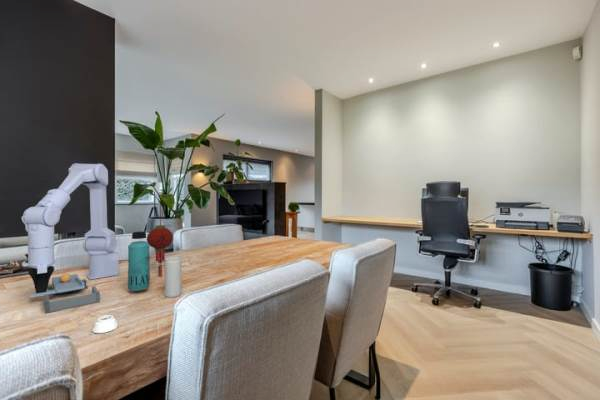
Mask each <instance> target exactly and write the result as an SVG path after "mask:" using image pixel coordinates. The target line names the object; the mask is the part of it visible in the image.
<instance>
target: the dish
mask: <svg viewBox="0 0 600 400" xmlns="http://www.w3.org/2000/svg"><path fill="white" fill-rule="evenodd" d="M43 296H44V297H43V298H44V299H43V300H44V301H43V302H44V312H45V313H44V314H49V313H55V312H60V311H63V310H69V309H73V308H79V307H83V306H87V305H93V304H97V303H98V304H99V303H100V302H101V299H100V298H101V293H100V291H99V290H98V288H97V287H96V286H95V285H93V286H91V293H89V294H83V295H78V296H72V297H67V298H62V299H55V300H51V301H50V297H49V296H48V294H46V295H43Z"/></svg>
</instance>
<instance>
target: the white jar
mask: <svg viewBox="0 0 600 400" xmlns="http://www.w3.org/2000/svg"><path fill="white" fill-rule="evenodd" d="M118 327H119V323H118V321H117V320H116V318H115V317H114V315H112V314H106V315H102V316H99V317H98V318H97V320H96V321H95V324H94V325H93V327H92V329H91V330H92V333H93V334H105V333H110V332H112V331H113V330H116V329H117V328H118Z"/></svg>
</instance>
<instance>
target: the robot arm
mask: <svg viewBox="0 0 600 400" xmlns="http://www.w3.org/2000/svg"><path fill="white" fill-rule="evenodd" d="M80 185H84V186H86V187H87V188H88V189H89V204H90V205H89V209H90V210H89V212H90V230H88V231H87V232H86V233H84V238H83V239H84V240H83V242H82V248H83V250H84V251H85V253H86V255H88V273H86V277H87V278H88V280H95V279H102V278H108V277H113V276H119V275H120V273H119V272H120V271H119V263H120V262H119V254H118V252H117V251H115V250H116V249H117V246H118V240H117V238H116V232H115V231H113V230H111V229H110V228H109V227H108V203H107V186H108V185H109V171H108V169H107V167H106V166H105V165H104V163H78V162H76V163H73V164H72V165H71V166H70V167H69V168H68V175H67V176H66V178H65V179H64V180H63V181H62V183H61V184H60V185H59V187H58V188H53V189H49V190H48V191H47V193H46V194H45V195H44V196H43V197H42V199H41V200H39V202H38V203H37V204H36V205H35V206H30V207H28V208H27V209H25V210H24V212H23V215H22V216H21V221H22V223H23V225H25V231H26V232H27V262H23V263H22V265H21V266H22V267H23V268H25V267H28V268H31V269H28V270H27V271H28V272H27V273H28V275H29V277H30V278H31V280H32V282H33V284H34V289H35V293H43V292H46V291H48V285H50V283H49V282H50V279H51V278H52V277H51V276H52V275H53V273H54V272H55V266H54V264H55V263H56V259H55V225H57V224H58V223H59V222H60V219H61V214H62V210H63V209H64V208H65V207H66V206H67V205H68V203H69V202H70V201H71V196H70V195H71V194H72V193H73V192H74V191H75V190H76V189H77V188H78V187H80Z"/></svg>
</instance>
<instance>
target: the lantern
mask: <svg viewBox="0 0 600 400" xmlns="http://www.w3.org/2000/svg"><path fill="white" fill-rule="evenodd" d="M161 203H162V200H159V225H155V227H154V228H153V229H151V230H150V231H149V232H148V234H147V235H146V242H147V243H149V244H150V246H149V247H151V248H153V249H154V250H155V262H157V263H158V264H159V265H158V266H157V267H158V272H157V273H158V275H157V276H158V277H161V278H162V276H163V272H162V271H163V265H162V263H163V262H165V259H166V258H165V255H166V254H165V252H166V248H167V247H169V246H170V245H172V243H173V240H174V234H173V232H172V231H171V230H170V229H168V228H167V227H166V225H162V223H161V222H162V221H161V220H162V219H161V215H162V213H161V212H162V209H161V208H162V205H161Z"/></svg>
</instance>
